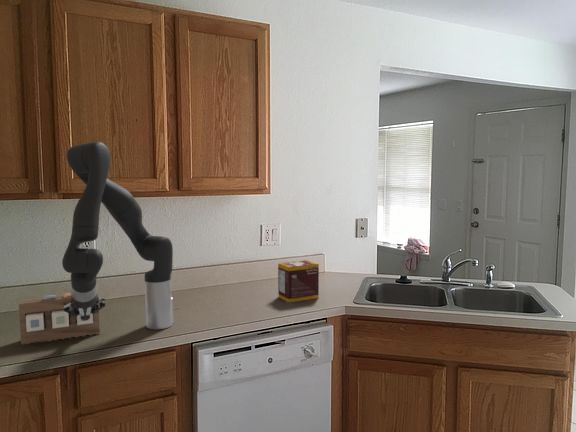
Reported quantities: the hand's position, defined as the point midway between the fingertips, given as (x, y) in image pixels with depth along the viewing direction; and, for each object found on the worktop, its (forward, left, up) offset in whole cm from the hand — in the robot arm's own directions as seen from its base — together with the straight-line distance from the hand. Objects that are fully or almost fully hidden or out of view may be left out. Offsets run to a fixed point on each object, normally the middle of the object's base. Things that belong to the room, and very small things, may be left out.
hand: (85, 318), depth 156 cm
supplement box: (-75, +48, -8) cm, 89 cm away
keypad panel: (+1, -10, -7) cm, 12 cm away
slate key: (+9, -13, -2) cm, 16 cm away
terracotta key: (-2, -2, -2) cm, 4 cm away
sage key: (+3, -8, -2) cm, 9 cm away
